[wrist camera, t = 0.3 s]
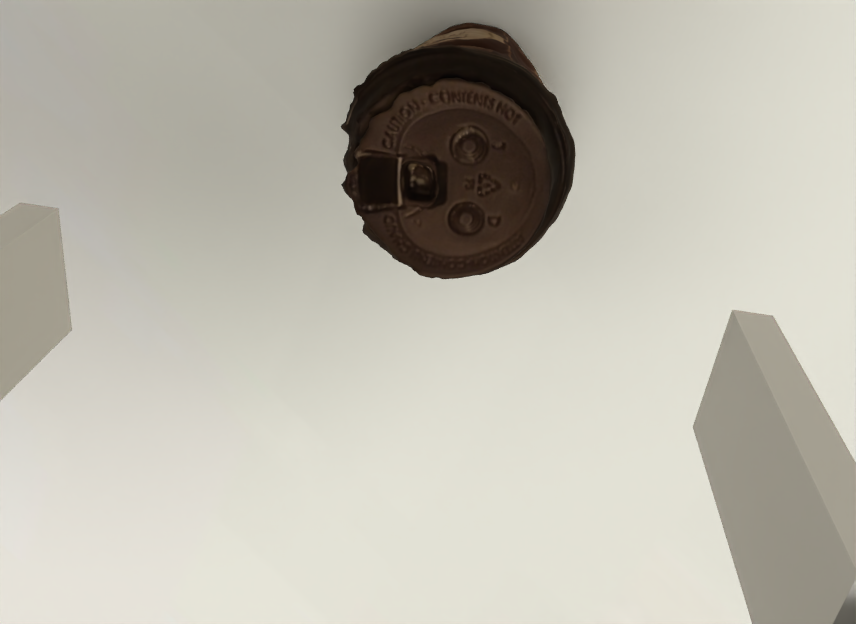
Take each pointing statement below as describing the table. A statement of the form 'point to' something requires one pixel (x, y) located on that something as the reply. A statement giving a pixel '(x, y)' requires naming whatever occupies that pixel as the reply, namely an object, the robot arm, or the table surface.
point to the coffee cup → (457, 154)
